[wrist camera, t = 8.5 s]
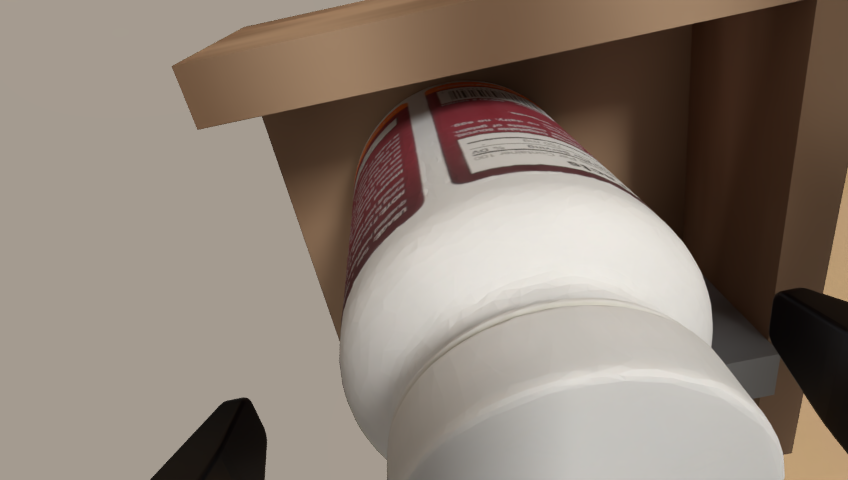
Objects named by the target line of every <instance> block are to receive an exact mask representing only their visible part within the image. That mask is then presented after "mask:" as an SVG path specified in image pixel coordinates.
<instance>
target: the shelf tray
mask: <svg viewBox="0 0 848 480" xmlns="http://www.w3.org/2000/svg"><path fill="white" fill-rule="evenodd" d="M172 68H173V71H174V73H175V76H176V78H177V81H178V83H179V85H180V88H181V90H182V93H183V95H184V98H185V100H186V103H187V105H188V107H189V110H190V112H191V115H192V117H193V120H194V122H195V124H196V127H197V129H203V128H208V127H213V126H217V125H222V124H227V123H231V122H236V121H241V120H245V119H250V118H255V117H259V116H262V118H263V121H264V123H265V126H266V129H267V132H268V135H269V138H270V141H271V144H272V146H273V150H274V152H275V155H276V158H277V161H278V164H279V167H280V170H281V173H282V176H283V178H284V181H285V184H286V187H287V190H288V193H289V196H290V199H291V202H292V204H293V208H294V210H295V213H296V216H297V219H298V222H299V225H300V228H301V230H302V233H303V236H304V239H305V242H306V245H307V248H308V251H309V253H310V257H311V259H312V263H313V265H314V268H315V271H316V274H317V277H318V280H319V283H320V285H321V289H322V291H323V294H324V297H325V300H326V303H327V306H328V309H329V312H330V315H331V317H332V320H333V323H334V326H335V329H336V332H337V334H338V337H339V341H340V332H341V318H342V311H343V301H344V292H345V281H346V269H347V257H348V248H349V238H350V227H351V218H352V206H353V195H354V182H355V176H356V171H357V167H358V163H359V160H360V156H361V154H362V151H363V149H364V147H365V144H366V142H367V141H368V139H369V137H370V135H371V134H372V132H373V131H374V129H375V128H376V127H377V125H378V124H379V123H380V122H381V120H382V119H383V118H384V117H385V116H386V115H387V114H388V113H389V112H390V111H391V110H392V109H393V108H394V107H395V106H397V105H398V104H399V103H401V102H402V101H403V100H405V99H406V98H408V97H410V96H411V95H413V94H415V93H417V92H419V91H421V90H423V89H426V88H429V87H432V86H435V85H438V84H442V83H446V82H453V81H465V80H469V81H482V82H488V83H493V84H497V85H500V86H503V87H506V88H508V89H511V90H513V91H515V92H517V93H519V94H521V95H522V96H524V97H526V98H528V99H529V100H531V101H532V102H534V103H535V104H536V105H538V106H539V107H540V108H541V109H542V110H543V111H544V112H545V113H547V114H548V115H549V116H550V117H551V118H552V119H553V120H554V121H555V122H556V123H557V124H558V125H559V126H561V127H562V128H563V129H564V130H565V131H566V132H567V133H568V134H569V135H570V136H572V137H573V138H574V139H575V140H576V141H577V142H578V143H579V144H580V145H581V146H582V147H584V148H585V149H586V150H587V151H588V152H589V153H590V154H591V155H592V156H593V157H594V158H596V159H597V160H598V161H599V162H600V163H601V164H602V165H603V166H604V167H605V168H606V169H607V170H609V171H610V172H611V173H612V174H613V175H614V176H615V177H616V178H617V179H619V180H620V181H621V182H622V183H623V184H624V185H625V186H626V187H627V188H629V189H630V190H631V191H632V192H633V193H634V194H635V195H636V196H637V197H638V198H639V199H641V200H642V201H643V202H644V203H645V204H646V205H647V206H649V207H650V208H651V209H652V210H653V211H654V212H655V213H656V214H657V215H658V216H659V218H661V219H662V220H663V221H664V222H665V223H666V224H667V225H668V226H669V227H670V228H671V229H672V230H673V231H674V232H675V234H676V235H677V236H678V237H679V238H680V239H681V241H682V242H683V243H684V244H685V246H686V247H687V249H688V250H689V252H690V253H691V255H692V257H693V258H694V260H695V261H696V263H697V265H698V267H699V269H700V271H701V273H702V276H703V279H704V281H705V284H706V287H707V290H708V294H709V298H710V303H711V310H712V322H713V334H712V345H711V348H712V349H713V350H714V351H715V353H716V354H717V355H718V356H719V357H720V359H721V360H722V361H723V362H724V364H725V365H726V366H727V367H728V369H729V370H730V371H731V372H732V374H733V375H734V376H735V378H736V379H737V380H738V382H739V383H740V384H741V386H742V387H743V388H744V389H745V391H746V392H747V393H748V394H749V396H750V397H751V398H752V399H753V401H754V402H755V403H756V404H757V406H758V407H759V408H760V409H761V411H762V412H763V413H764V415H765V416H766V418H767V419H768V421H769V422H770V424H771V426H772V427H773V429H774V431H775V433H776V435H777V437H778V439H779V442H780V445H781V448H782V451H783V455H784V454H790V453H792V449H793V444H794V438H795V433H796V428H797V423H798V418H799V413H800V408H801V403H802V398H803V391H802V390H801V388H800V387H799V385H798V384H797V382H796V381H795V379H794V377H793V376H792V374H791V373H790V371H789V370H788V368H787V367H786V365H785V364H784V362H783V360H782V359H781V357H780V356H779V354H778V353H777V351H776V350H775V348H774V347H773V345H772V343H771V340H770V337H769V323H770V316H771V309H772V302H773V297H774V296H775V294H776V293H778V292H780V291H784V290H789V289H794V288H807V289H810V290H813V291H816V292H819V293H822V294H823V290H824V285H825V280H826V275H827V270H828V265H829V260H830V254H831V249H832V244H833V239H834V234H835V229H836V224H837V219H838V214H839V208H840V203H841V198H842V193H843V188H844V183H845V178H846V173H847V168H848V0H365V1H360V2H356V3H351V4H347V5H342V6H337V7H333V8H328V9H324V10H319V11H315V12H310V13H306V14H302V15H297V16H293V17H288V18H284V19H279V20H274V21H270V22H266V23H260V24H256V25H251V26H247V27H243V28H241V29H240V30H238V31H236V32H234V33H232V34H230V35H229V36H227V37H225V38H223V39H221V40H219V41H217V42H216V43H214V44H212V45H210V46H208V47H206V48H205V49H203V50H201V51H199V52H197V53H195V54H193V55H192V56H190V57H188V58H186V59H184V60H182V61H181V62H179V63H177V64H175V65H173V66H172Z"/></svg>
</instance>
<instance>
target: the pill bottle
mask: <svg viewBox="0 0 848 480" xmlns="http://www.w3.org/2000/svg"><path fill="white" fill-rule="evenodd" d="M712 334H713V322H712V310H711V303H710V298H709V294H708V290H707V287H706V284H705V281H704V279H703V276H702V273H701V271H700V269H699V267H698V265H697V263H696V261H695V260H694V258H693V257H692V255H691V253H690V252H689V250H688V249H687V247H686V246H685V244H684V243H683V242H682V241H681V239H680V238H679V237H678V236H677V235H676V234H675V232H674V231H673V230H672V229H671V228H670V227H669V226H668V225H667V224H666V223H665V222H664V221H663V220H662V219H661V218H659V216H658V215H657V214H656V213H655V212H654V211H653V210H652V209H651V208H650V207H649V206H647V205H646V204H645V203H644V202H643V201H642V200H641V199H639V198H638V197H637V196H636V195H635V194H634V193H633V192H632V191H631V190H630V189H629V188H627V187H626V186H625V185H624V184H623V183H622V182H621V181H620V180H619V179H617V178H616V177H615V176H614V175H613V174H612V173H611V172H610V171H609V170H607V169H606V168H605V167H604V166H603V165H602V164H601V163H600V162H599V161H598V160H597V159H596V158H594V157H593V156H592V155H591V154H590V153H589V152H588V151H587V150H586V149H585V148H584V147H582V146H581V145H580V144H579V143H578V142H577V141H576V140H575V139H574V138H573V137H572V136H570V135H569V134H568V133H567V132H566V131H565V130H564V129H563V128H562V127H561V126H559V125H558V124H557V123H556V122H555V121H554V120H553V119H552V118H551V117H550V116H549V115H548V114H547V113H545V112H544V111H543V110H542V109H541V108H540V107H539V106H538V105H536V104H535V103H534V102H532V101H531V100H529V99H528V98H526V97H524V96H522V95H521V94H519V93H517V92H515V91H513V90H511V89H508V88H506V87H503V86H500V85H497V84H493V83H488V82H482V81H469V80H465V81H453V82H446V83H442V84H438V85H435V86H432V87H429V88H426V89H423V90H421V91H419V92H417V93H415V94H413V95H411V96H410V97H408V98H406V99H405V100H403V101H402V102H401V103H399V104H398V105H397V106H395V107H394V108H393V109H392V110H391V111H390V112H389V113H388V114H387V115H386V116H385V117H384V118H383V119H382V120H381V122H380V123H379V124H378V125H377V127H376V128H375V129H374V131H373V132H372V134H371V135H370V137H369V139H368V141H367V142H366V144H365V147H364V149H363V151H362V154H361V156H360V160H359V163H358V167H357V171H356V176H355V182H354V195H353V206H352V218H351V227H350V238H349V248H348V257H347V269H346V281H345V292H344V301H343V311H342V318H341V332H340V369H341V377H342V384H343V388H344V392H345V395H346V398H347V401H348V404H349V406H350V408H351V410H352V413H353V415H354V417H355V420H356V421H357V423H358V425H359V427H360V429H361V430H362V431H363V433H364V434H365V436H366V437H367V439H368V440H369V441H370V442H371V444H372V445H373V446H374V447H375V448H376V450H377V451H378V452H379V453H380V454H381V455H382V456H383V457H385V459H386V460H387V480H784V477H785V475H784V459H783V451H782V448H781V445H780V442H779V439H778V437H777V435H776V433H775V431H774V429H773V427H772V426H771V424H770V422H769V421H768V419H767V418H766V416H765V415H764V413H763V412H762V411H761V409H760V408H759V407H758V406H757V404H756V403H755V402H754V401H753V399H752V398H751V397H750V396H749V394H748V393H747V392H746V391H745V389H744V388H743V387H742V386H741V384H740V383H739V382H738V380H737V379H736V378H735V376H734V375H733V374H732V372H731V371H730V370H729V369H728V367H727V366H726V365H725V364H724V362H723V361H722V360H721V359H720V357H719V356H718V355H717V354H716V353H715V351H714V350H713V349H712V348H711V345H712Z"/></svg>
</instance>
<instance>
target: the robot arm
mask: <svg viewBox="0 0 848 480" xmlns="http://www.w3.org/2000/svg"><path fill="white" fill-rule="evenodd" d="M769 337H770V340H771V343H772V345H773V347H774V348H775V350H776V351H777V353H778V354H779V356H780V357H781V359H782V360H783V362H784V364H785V365H786V367H787V368H788V370H789V371H790V373H791V374H792V376H793V377H794V379H795V381H796V382H797V384H798V385H799V387H800V388H801V390H802V391H803V393H804V394H805V396H806V398H807V399H808V401H809V402H810V404H811V405H812V407H813V408H814V410H815V411H816V413H817V414H818V416H819V417H820V419H821V420H822V421H823V423H824V424H825V426H826V427H827V428H828V430H829V431H830V432H831V433H832V435H833V436H834V437H835V439H836V440H837V441H838V442H839V444H840V445H841V446H842V447H843V449H844V450H845V451H846V452H847V454H848V302H846V301H843V300H840V299H837V298H834V297H831V296H828V295H825V294H822V293H819V292H816V291H813V290H810V289H807V288H794V289H789V290H784V291H780V292H778V293H776V294H775V296H774V297H773V302H772V309H771V316H770V323H769ZM266 450H267V437H266V433H265V429H264V427H263V425H262V423H261V421H260V419H259V416H258V414H257V413H256V410H255V408H254V406H253V404H252V402H251V401H250V400H249V399H248V398H239V399H234V400H229V401H225V402H223V403H222V404H221V405H220V406H219V407H218V408H217V409H216V410H215V411H214V412H213V413H212V415H210V416H209V418H208V419H207V420H206V421H205V422H204V423H203V424H202V425H201V426H200V427H199V428H198V429H197V430H196V431H195V432H194V434H193V435H192V436H191V437H190V438H189V439H188V440H187V441H186V442H185V443H184V444H183V445H182V446H181V447H180V448H179V450H178V451H177V452H176V453H175V454H174V455H173V456H172V457H171V458H170V459H169V460H168V461H167V462H166V464H164V466H163V467H162V468H161V469H160V470H159V471H158V472H157V473H156V474H155V475H154V476H153V477H152V478H151V480H264V479H265V465H266Z"/></svg>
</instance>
